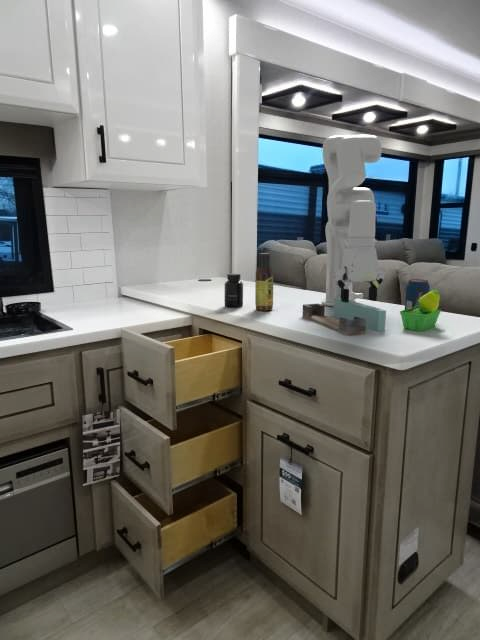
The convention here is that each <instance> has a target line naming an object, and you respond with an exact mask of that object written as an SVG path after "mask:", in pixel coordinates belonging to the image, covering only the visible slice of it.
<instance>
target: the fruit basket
mask: <svg viewBox="0 0 480 640" xmlns="http://www.w3.org/2000/svg"><path fill="white" fill-rule="evenodd" d="M440 301H441V295H440V292H439V291H438V290H437V289H436V290H435V289H432V290H431V289H430V290H429V293H427V294H426V295H423V296H422V297H421V298H420V299H419V300H418V302H419V307H414V308H410V309H406V310H405V309H403V310H399V313H400V316H401V320H402V321H401V322H402V325H403V329H406V330H411V331H418V332H423V331H425V330H429V329H431V328H434V327H435V326H436V323H437V321H438V319H439V316H440V314H441V311H442V310H441V309H438V308H439V305H440Z"/></svg>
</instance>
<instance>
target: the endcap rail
mask: <svg viewBox="0 0 480 640" xmlns="http://www.w3.org/2000/svg"><path fill="white" fill-rule="evenodd" d="M325 314H326V305H323V304H322V303H307V304H302V318H305V319H307V320H309V321H312V322H314V323H316V324H319V325H322V326H324V327H326V328H328V329H331V330H333V331H335V332H338V333H341V334H343V335H345V336H359V335H365V334H366V332H367V331H366V330H367V327H366V319H363V318H360V317H357V316H356V317H354V320H348V319H345V318H340V317H339V320H338V319H334V318H332V317H329V316H326V315H325Z"/></svg>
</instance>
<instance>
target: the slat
mask: <svg viewBox="0 0 480 640" xmlns="http://www.w3.org/2000/svg"><path fill="white" fill-rule="evenodd" d="M354 301H355V300H354ZM354 301H351V300H349V302H348V303H345V302H342V301H341V298H334V306H333V310H332V311H333V316H334V317H337V318H339V319H340V318H345V319H348V320H354V317H356V316H357V317H360V318H363V319H366V329H367V328H368V329H370V330H373V331H376V332H383V331H386V319H387V317H386V316H387V310H386V309H382V308H379V307H376V306H372V305H367V304H364V303H361V302H357V301H356V302H354Z"/></svg>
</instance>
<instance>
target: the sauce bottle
mask: <svg viewBox="0 0 480 640" xmlns="http://www.w3.org/2000/svg"><path fill="white" fill-rule="evenodd" d="M270 259H271V253H269V252H259V253H258V268H257V269H256V271H255V287H254V288H255V289H254V290H255V293H254V294H255V297H254V298H255V302H254V303H255V310H256V311H258V312H259V311H261V312H267V311H272V310H273V307H274V275H273V274H274V273H273V271H272V268H271V260H270Z"/></svg>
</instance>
